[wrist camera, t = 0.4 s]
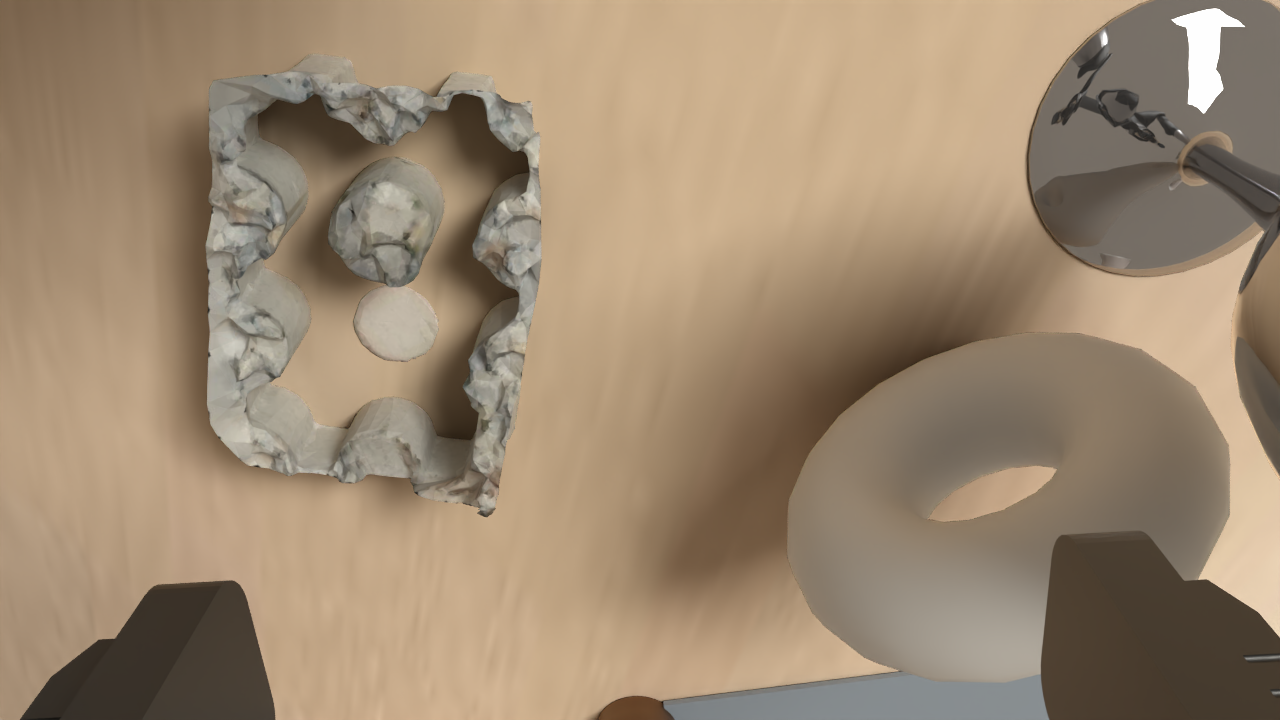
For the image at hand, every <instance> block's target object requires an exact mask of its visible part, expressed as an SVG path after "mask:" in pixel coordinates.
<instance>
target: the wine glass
mask: <svg viewBox="0 0 1280 720" xmlns="http://www.w3.org/2000/svg"><path fill="white" fill-rule="evenodd" d="M1028 178H1029V184H1030V189H1031V193H1032V198H1033V202H1034V204H1035V207H1036V209H1037V211H1038V213H1039V215H1040V218H1041V220H1042V222H1043V224H1044V225H1045V226H1046V228H1047V229H1048V230H1049V232H1050V233H1051V235H1052V236H1053V237H1054V239H1055V240H1056V241H1057V242H1058V243H1059V244H1060V245H1062V246H1063V247H1064V248H1065V249H1066V250H1067V251H1068V252H1069V253H1071V254H1072V255H1073V256H1075V257H1077V258H1079V259H1080V260H1082V261H1084V262H1086V263H1087V264H1089V265H1091V266H1094V267H1097V268H1100V269H1103V270H1105V271H1108V272H1111V273H1117V274H1124V275H1131V276H1161V275H1166V274H1172V273H1178V272H1184V271H1187V270H1190V269H1193V268H1196V267H1199V266H1202V265H1205V264H1208V263H1210V262H1212V261H1214V260H1216V259H1218V258H1221V257H1223V256H1225V255H1227V254H1229V253H1231V252H1233V251H1234V250H1236V249H1237V248H1239V247H1240V246H1242V245H1243V244H1244V243H1246V242H1247V241H1249V240H1250V239H1252V238H1253V237H1255V236H1256V235H1257V234H1258V233H1259V232H1260V231H1262V230H1263V231H1264V232H1265V233H1264V234H1263V236H1262V237H1261V239H1260V240H1259V242H1258V243H1257V245H1256V248H1255V250H1254V252H1253V254H1252V257H1251V259H1250V261H1249V263H1248V266H1247V268H1246V270H1245V273H1244V275H1243V278H1242V281H1241V284H1240V287H1239V291H1238V295H1237V299H1236V303H1235V307H1234V311H1233V315H1232V329H1231V352H1232V359H1233V366H1234V372H1235V377H1236V381H1237V386H1238V390H1239V394H1240V398H1241V400H1242V403H1243V406H1244V408H1245V411H1246V413H1247V416H1248V418H1249V421H1250V423H1251V426H1252V428H1253V430H1254V432H1255V434H1256V436H1257V439H1258V441H1259V443H1260V445H1261V447H1262V449H1263V451H1264V454H1265V456H1266V458H1267V460H1268V462H1269V464H1270V466H1271V468H1272V469H1273V471H1274V472H1275V474H1276V475H1277V477H1278V479H1279V480H1280V8H1278V7H1277V6H1275V5H1274V4H1272V3H1271V2H1269V1H1266V0H1149V1H1147V2H1144V3H1141V4H1139V5H1137V6H1135V7H1133V8H1132V9H1130V10H1128V11H1126V12H1124V13H1123V14H1121V15H1119V16H1117V17H1115V18H1114V19H1112V20H1111V21H1110V22H1108V23H1107V24H1106V25H1104V26H1103V27H1102V28H1101V29H1099V30H1098V31H1097V32H1095V33H1094V34H1093V35H1091V36H1090V37H1089V38H1088V39H1087V40H1086V41H1085V42H1084V43H1083V44H1082V45H1081V46H1080V47H1079V48H1078V49H1077V50H1076V51H1075V52H1074V54H1073V55H1072V56H1071V57H1070V58H1069V59H1068V60H1067V62H1066V63H1065V65H1064V66H1063V67H1062V69H1061V70H1060V71H1059V73H1058V74H1057V76H1056V77H1055V78H1054V80H1053V81H1052V83H1051V85H1050V87H1049V89H1048V91H1047V93H1046V95H1045V97H1044V99H1043V101H1042V103H1041V105H1040V107H1039V110H1038V113H1037V116H1036V119H1035V122H1034V125H1033V128H1032V132H1031V138H1030V145H1029V152H1028Z"/></svg>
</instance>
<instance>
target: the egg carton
mask: <svg viewBox="0 0 1280 720" xmlns="http://www.w3.org/2000/svg"><path fill="white" fill-rule="evenodd" d="M460 93H466V94H470V95H475V96H478V97H481V99H482V101H483V102H484V106H485V110H486V115H487V119H488V124H489V127H490V131H491V132H492V133H493V134H494V135H495V136H496V138H497V139H498V140H499V141H500V142H501V143H503V144H504V145H505V146H506V147H507V148H508V149H510V150H511V151H512V152H515V151H518V150H520V151H522V152H525V153H526V155H527V157H528V164H529V171H530V172H529V173H522V174H517V175H515V176H513V177H511V178H509V179H508V180H506V181H504V182H503V183H502V184H501V185H500V186H499V187H497V188H496V189H495V190H494V192H493V194H492V196H491V198H490V201H489V203H488V206H487V208H486V210H485V212H484V214H483V217H482V220H481V223H480V225H479V228H478V234H477V236H476V238H475V240H474V243H473V245H472V247H473V258H474V259H476V260H478V261H480V262H482V263H483V264H484V265H485V266H486V267H487V268H488V269H489V270H490V271H491V272H492V274H493V275H494V276H495V277H496V278H497V279H498V280H499V281H500V282H501V283H503V284H504V285H506V286H507V287H510V288H512V289H515V290H516V291H517V292H518V293H519V297H513V298H509V299H506V300H503V301H501V302H500V303H499V304H497V305H496V306H494V307H493V308H492V309H491V310H490V312H489V313H488V314H487V315H486V317H485V318H484V320H483V322H482V325H481V329H480V332H479V334H478V337H477V340H476V343H475V346H474V350H473V354H472V355H471V357H470V358H469V359H468V363H469V368H470V374H469V376H468V377H467V379H466V381H465V383H464V385H463V386H462V387H463V389H464V391H465V392H466V394H467V396H468V398H469V400H470V402H471V407H472V408H473V409H475V410H476V411H477V412H478V413H479V416H478V423H477V430H476V431H475V434H474V436H473V438H472V439H471V440H462V439H454V438H444V437H440V436H437V435H436V432H435V429H434V426H433V423H432V420H431V419H430V417H429V416H428V414H427V413H426V412H425V411H424V410H423V409H422V408H421V407H419V406H418V405H416V404H415V403H413V402H411V401H409V400H406V399H403V398H397V397H385V398H381V399H376V400H372V401H370V402H369V403H367V404H365V405H364V406H363V407H362V408H361V409H360V410H359V411H358V413H357V415H356V416H355V418H354V420H353V422H352V424H351V426H350V428H339V427H332V426H324V425H319V424H318V423H316V422H315V421H314V419H313V416H312V414H311V411H310V409H309V407H308V406H307V405H306V404H305V402H304V401H303V400H302V399H301V398H300V397H299V396H298V395H297V394H295V393H293V392H291V391H290V390H288V389H286V388H283V387H279V386H274V385H271V384H270V382H272V381H273V380H274V379H275V378H277V377H280V376H281V374H282V373H283V371H284V369H285V367H286V366H287V364H288V362H289V360H290V359H291V357H292V355H293V354H294V352H295V351H296V349H297V348H298V346H299V344H300V343H301V341H302V339H303V338H304V336H305V334H306V333H307V331H308V329H309V326H310V323H311V309H310V306H309V304H308V301H307V299H306V296H305V294H304V293H303V292H302V290H301V289H300V288H299V287H298V286H297V285H296V284H295V283H293V282H292V281H291V280H290V279H288V278H287V277H284V276H282V275H280V274H278V273H276V272H274V271H271V270H269V269H267V268H265V265H264V259H265V260H266V259H267V258H269V257H270V256H271V255H272V254H273V253H274V252H275V250H276V248H277V246H278V244H279V242H280V241H281V239H282V238H283V237H284V235H285V234H286V233H287V232H288V230H289V229H290V228H291V227H292V226H293V224H294V223H295V222H296V220H297V219H298V218H299V217H300V216H301V215H302V213H303V212H304V210H305V208H306V205H307V200H308V182H307V177H306V175H305V173H304V171H303V168H302V167H301V165H300V164H299V163H298V162H297V160H296V159H295V158H294V157H293V156H292V155H290V154H289V153H288V152H286V151H285V150H284V149H282V148H281V147H279V146H278V145H275V144H273V143H270V142H268V141H265V140H263V139H262V138H260V136H259V129H258V114H259V113H260V112H262V111H264V110H265V109H267V108H268V107H269V106H270V105H271V104H272V103H273V102H275V101H276V100H277V99H278V100H282V101H286V102H289V103H293V104H298V103H301V102H304V101H305V100H307V99H308V98H309V97H311V96H312V95H313V94H317V95H319V96H321V99H322V102H323V105H324V108H325V111H326V113H327V114H328V116H330V117H331V118H334V119H337V120H341V121H344V122H348V123H351V124H352V125H353V127H354V128H355V129H356V130H357V131H358V132H359V133H360V134H361V135H362V136H363V137H364V138H365V139H367V140H369V141H371V142H373V143H378V144H386V145H389V146H391V145H395V144H396V143H397V142H398V140H399V139H400V138H401V137H402V136H403V135H404V134H406V133H407V132H416V131H418V130H419V129H420V128H421V127H422V125H423V124H424V123H425V121H426V119H427V118H428V116H429V114H430V113H431V111H439V112H442V111H445V110H447V109H448V107H449V105H450V102H451V100H452V97H453V95H456V94H460ZM209 151H210V154H211V158H212V188H211V191H210V194H209V203H210V204H211V205H212V214H211V222H210V227H209V232H208V237H207V241H206V258H207V267H208V279H209V296H208V319H209V329H210V338H209V351H208V383H207V407H208V413H209V418H210V424H211V426H212V428H213V429H214V431H215V433H216V434H217V436H218V437H219V438H220V440H221V441H222V442H223V443H224V444H225V445H226V446H227V447H228V448H229V449H230V450H231V451H232V452H233V453H234V454H235V455H236V456H237V457H238V458H239V459H240V460H241V461H242V462H244V463H245V464H246V465H249V466H255V467H261V468H269V469H272V470H274V471H277V472H280V473H283V474H285V475H287V476H292V475H294V474H296V473H316V474H324V475H329V476H332V477H336V478H337V479H338V480H339V482H342V483H356V482H358V481H361V480H363V479H364V477H365V476H366V475H369V474H374V475H380V476H388V477H399V478H411V481H410V482H411V483H412V485H413V489H414V493H416V494H417V495H419V496H421V497H424V498H427V499H431V500H434V501H441V502H449V503H463V504H466V505H470V506H474V507H478V508H480V509H478V510H480V511H479V512H478V513H477V514H480V515H482V516H484V517H488V516H489V515H491V514H492V513H493V511H494V510H495V509H496V508H495V505H496V500H497V497H498V495H499V481H500V476H501V470H502V465H503V460H504V455H505V447H506V442H507V440H508V439H510V437H511V435H512V433H513V431H514V429H515V422H516V418H517V409H518V403H519V399H520V387H521V386H520V384H521V377H522V370H523V365H524V356H525V350H526V344H527V339H528V334H529V329H530V325H531V320H532V315H533V311H534V306H535V301H536V296H537V291H538V285H539V277H540V267H541V201H540V182H539V171H538V163H539V151H540V135H539V132H537V133H536V132H535V131H534V127H533V120H532V104H531V102H530V101H526V102H523V103H511V102H508V101H506V100H504V99H502V98H501V96H500V95H499V94H497V92H496V88H495V84H494V81H493V79H492V77H491V76H486V75H481V74H472V73H463V72H454V73H452V74H451V75H450V77H449V78H448V80H447V81H446V82H445V83H444V85H443V86H442V88H441V89H440V91H439V93H438V95H437V97H432V96H430V95H428V94H426V93H424V92H423V91H421V90H419V89H417V88H413V87H409V86H387V87H382V88H377V89H376V88H373V87H371V86H368V85H364V84H359V83H358V81H357V79H356V75H355V71H354V68H353V65H352V63H351V61H350V60H348V59H346V58H345V57H338V56H329V55H322V54H310V55H308V56H306V57H305V58H304V59H303V60H302V61H301V62H300V63H298V64H297V65H296V66H294V67H293V68H292V69H290V70H289V71H287V72H283V73H277V74H271V75H252V76H244V77H236V78H228V79H220V80H214V81H213V82H212V84H211V86H210V88H209ZM444 202H445V201H444V197H443V192H442V188H441V186H440V185H439V183H438V181H437V180H436V178H435V176H434V175H433V174H432V173H431V172H430V171H429V170H428V169H427V168H425V167H424V166H423V165H421V164H419V163H417V162H414V161H412V160H410V159H407V158H404V157H388V158H384V159H381V160H378V161H376V162H373V163H372V164H370V165H369V166H368V167H367V168H365V169H364V170H363V171H362V172H361V173H360V174H359V175H358V176H357V177H356V179H355V180H354V181H353V182H352V184H351V185H350V187H349V188H348V189H347V190H346V191H345V193H344V194H343V195H342V197H341V198H340V199H339V201H338V203H337V204H336V206H335V208H334V209H333V211H332V216H331V220H330V226H329V233H328V244H329V245H330V246H331V247H332V249H333V250H334V251H335V252H336V253H338V255H339V256H340V257H341V259H342V260H343V262H344V263H345V265H346V266H347V267H348V268H349V269H350V270H351V271H352V272H353V273H354V274H356V275H358V276H360V277H362V278H364V279H368V280H371V281H375V282H380V283H385V284H386V285H385V286H381V287H378V288H376V289H373V290H371V291H369V292H368V293H367V294H366V295H365V296H364V297H363V298H362V299H361V301H360V303H359V305H358V308H357V311H356V314H355V317H354V321H353V322H354V327H355V331H356V333H357V335H358V337H359V339H360V341H361V342H362V344H363V345H364V346H365V347H366V348H367V349H369V350H370V351H371V352H372V353H374V354H375V355H376V356H378V357H380V358H382V359H384V360H390V361H401V362H408V361H410V360H411V359H416V357H419V356H421V355H424V354H426V353H427V351H428V350H429V349H430V348H431V347H432V346H433V343H434V340H435V337H436V335H437V332H438V330H439V328H438V324H437V323H438V321H439V320H438V318H437V317H436V313H435V311H434V310H433V308H432V307H431V305H430V304H429V302H428V301H427V300H426V299H425V298H424V297H423V296H422V295H420V294H419V293H418V292H416V291H414V290H413V289H411V288H409V287H405V286H404V285H406V284H408V283H410V282H411V281H413V280H414V279H415V277H416V276H417V275H418V274H419V271H420V267H421V264H422V261H423V259H424V257H425V255H426V253H427V251H428V250H429V248H430V246H431V244H432V241H433V239H434V237H435V234H436V232H437V230H438V228H439V226H440V223H441V220H442V218H443V214H444Z"/></svg>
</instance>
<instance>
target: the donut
mask: <svg viewBox="0 0 1280 720" xmlns="http://www.w3.org/2000/svg"><path fill="white" fill-rule="evenodd" d="M1028 466H1044V467H1052V468H1055V469H1057V471H1056V472H1055V474H1054V476H1053V477H1052V479H1051V480H1050V481H1048V482H1047V483H1046V484H1045V485H1044V486H1043V487H1042V488H1040V489H1039V490H1038V491H1037V492H1036V493H1034V494H1032V495H1030V496H1029V497H1027V498H1025V499H1023V500H1021V501H1019V502H1017V503H1015V504H1014V505H1012V506H1010V507H1008V508H1006V509H1004V510H1001V511H998V512H994V513H991V514H988V515H984V516H981V517H977V518H974V519H971V520H963V521H950V522H940V521H934V520H929V519H928V517H929V516H930V515H931V513H932V512H933V510H934V509H935V507H936V506H937V505H938V504H940V503H941V502H942V501H943V500H944V499H945V498H947V497H948V496H949V495H950V494H951V493H952V492H954V491H955V490H957V489H959V488H961V487H963V486H964V485H966V484H968V483H970V482H972V481H974V480H976V479H978V478H979V477H982V476H986V475H989V474H992V473H995V472H999V471H1002V470H1005V469H1008V468H1018V467H1028ZM1229 515H1230V456H1229V445H1228V443H1227V441H1226V440H1225V438H1224V436H1223V434H1222V433H1221V431H1220V429H1219V427H1218V426H1217V424H1216V422H1215V420H1214V418H1213V417H1212V415H1211V413H1210V411H1209V410H1208V408H1207V406H1206V404H1205V403H1204V401H1203V399H1202V397H1201V396H1200V394H1199V392H1198V390H1197V389H1196V387H1195V386H1193V385H1192V384H1191V383H1189V382H1188V381H1187V380H1185V379H1184V378H1183V377H1181V376H1180V375H1179V374H1177V373H1176V372H1174V371H1173V370H1171V369H1170V368H1168V367H1167V366H1165V365H1164V364H1162V363H1161V362H1159V361H1158V360H1156V359H1155V358H1153V357H1152V356H1150V355H1149V354H1147V353H1146V352H1144V351H1143V350H1141V349H1138V348H1134V347H1131V346H1127V345H1123V344H1119V343H1116V342H1112V341H1108V340H1104V339H1100V338H1097V337H1093V336H1089V335H1084V334H1079V333H1034V332H1026V333H1021V334H1015V335H1009V336H1003V337H998V338H992V339H986V340H980V341H974V342H972V343H969V344H966V345H963V346H960V347H957V348H954V349H952V350H949V351H946V352H943V353H940V354H937V355H934V356H932V357H929V358H926V359H923V360H921V361H920V362H918V363H916V364H914V365H912V366H910V367H909V368H907V369H905V370H903V371H901V372H899V373H898V374H896V375H894V376H892V377H890V378H888V379H887V380H885V381H883V382H881V383H879V384H878V385H876V386H875V387H874V388H873V389H871V390H870V391H869V392H868V393H866V394H865V395H864V396H863V397H861V398H860V399H859V400H858V401H856V402H855V403H854V404H853V405H851V406H850V407H849V408H848V409H846V410H845V411H844V412H843V413H841V414H840V415H839V416H838V418H837V419H836V420H835V421H834V423H833V424H832V425H831V426H830V427H829V429H828V430H827V431H826V432H825V434H824V435H823V436H822V437H821V439H820V440H819V441H818V442H817V444H816V445H815V446H814V447H813V448H812V450H811V452H810V453H809V455H808V457H807V458H806V460H805V462H804V465H803V467H802V470H801V472H800V474H799V477H798V479H797V481H796V484H795V486H794V489H793V491H792V493H791V496H790V498H789V504H788V531H787V558H788V561H789V564H790V567H791V569H792V572H793V575H794V577H795V579H796V581H797V583H798V585H799V587H800V589H801V591H802V593H803V595H804V597H805V599H806V601H807V603H808V605H809V607H810V609H811V611H812V613H813V614H814V615H815V616H816V618H817V619H818V620H819V621H820V622H821V623H822V624H823V625H824V626H825V627H826V628H827V629H828V630H830V631H831V632H832V633H834V634H835V635H836V636H837V637H839V638H840V639H841V640H842V641H844V642H845V643H846V644H848V645H849V646H850V647H851V648H853V649H854V650H855V651H856V652H858V653H859V654H860V655H862V656H863V657H864V658H866V659H869V660H871V661H873V662H876V663H878V664H881V665H884V666H887V667H891V668H894V669H897V670H900V671H903V672H907V673H910V674H913V675H916V676H919V677H923V678H926V679H929V680H932V681H935V682H1000V683H1005V682H1009V681H1014V680H1018V679H1022V678H1026V677H1030V676H1035V675H1039V674H1041V654H1042V644H1043V635H1044V625H1045V615H1046V606H1047V596H1048V587H1049V577H1050V568H1051V558H1052V551H1053V548H1054V544H1055V542H1056V540H1057V539H1058V537H1059V536H1061V535H1067V534H1084V533H1101V532H1119V531H1136V530H1140V531H1143V532H1144V533H1146V534H1147V535H1148V536H1149V537H1150V538H1151V539H1152V540H1153V541H1154V543H1155V544H1156V545H1157V547H1158V548H1159V549H1160V550H1161V552H1162V553H1163V554H1164V555H1165V557H1166V558H1167V559H1168V561H1169V562H1170V563H1171V564H1172V566H1173V567H1174V568H1175V570H1176V571H1177V572H1178V573H1179V575H1180V576H1181V577H1182V579H1183V580H1184V581H1189V580H1198V578H1199V576H1200V574H1201V572H1202V570H1203V568H1204V566H1205V564H1206V562H1207V560H1208V558H1209V556H1210V554H1211V552H1212V550H1213V548H1214V546H1215V544H1216V542H1217V540H1218V538H1219V537H1220V535H1221V533H1222V531H1223V528H1224V526H1225V524H1226V522H1227V520H1228V518H1229Z"/></svg>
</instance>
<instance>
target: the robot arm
mask: <svg viewBox="0 0 1280 720" xmlns="http://www.w3.org/2000/svg"><path fill="white" fill-rule="evenodd" d="M1041 684H1042V692H1043V697H1044V702H1045V707H1046V711H1047V714H1048V717H1049V720H1280V638H1279V636H1278V635H1277V634H1276V633H1275V632H1274V631H1273V629H1272V628H1271V627H1270V626H1269V625H1268V623H1267V622H1266V621H1265V620H1264V619H1263V618H1262V616H1261V615H1260V614H1259V613H1258V612H1257V611H1255V610H1254V609H1252V608H1250V607H1249V606H1247V605H1246V604H1244V603H1243V602H1241V601H1240V600H1238V599H1236V598H1235V597H1233V596H1232V595H1230V594H1229V593H1227V592H1226V591H1224V590H1222V589H1221V588H1219V587H1218V586H1216V585H1215V584H1213V583H1211V582H1210V581H1208V580H1189V581H1184V580H1183V579H1182V577H1181V576H1180V575H1179V573H1178V572H1177V571H1176V570H1175V568H1174V567H1173V566H1172V564H1171V563H1170V562H1169V561H1168V559H1167V558H1166V557H1165V555H1164V554H1163V553H1162V552H1161V550H1160V549H1159V548H1158V547H1157V545H1156V544H1155V543H1154V541H1153V540H1152V539H1151V538H1150V537H1149V536H1148V535H1147V534H1146V533H1144V532H1143V531H1140V530H1136V531H1119V532H1101V533H1084V534H1067V535H1061V536H1059V537H1058V539H1057V540H1056V542H1055V544H1054V548H1053V551H1052V558H1051V568H1050V577H1049V587H1048V596H1047V606H1046V615H1045V625H1044V635H1043V644H1042V654H1041ZM20 720H275V709H274V703H273V698H272V694H271V690H270V686H269V683H268V679H267V675H266V671H265V667H264V663H263V660H262V656H261V652H260V648H259V644H258V640H257V637H256V633H255V629H254V625H253V621H252V617H251V614H250V610H249V606H248V602H247V599H246V596H245V593H244V591H243V589H242V588H241V586H240V585H239V584H238V583H237V582H235V581H214V582H197V583H180V584H162V585H156V586H154V587H153V588H151V589H150V590H149V591H148V592H147V594H146V595H145V596H144V598H143V599H142V601H141V602H140V603H139V605H138V606H137V608H136V609H135V611H134V612H133V614H132V615H131V617H130V618H129V619H128V621H127V622H126V624H125V625H124V627H123V628H122V630H121V631H120V633H119V634H118V635H117V637H116V638H115V639H102V640H98V641H97V642H95V643H94V644H93V645H92V646H90V647H89V648H88V649H86V650H85V651H84V652H83V653H81V654H80V655H79V656H77V657H76V658H75V659H74V660H72V661H71V662H70V663H69V664H67V665H66V666H65V667H63V668H62V669H61V670H60V671H58V672H57V673H56V674H54V675H53V676H52V677H51V678H50V679H49V681H48V682H47V683H46V685H45V686H44V688H43V689H42V690H41V692H40V693H39V694H38V696H37V697H36V698H35V700H34V701H33V703H32V704H31V705H30V707H29V708H28V709H27V711H26V712H25V713H24V715H23V716H22V717H21V719H20Z"/></svg>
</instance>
